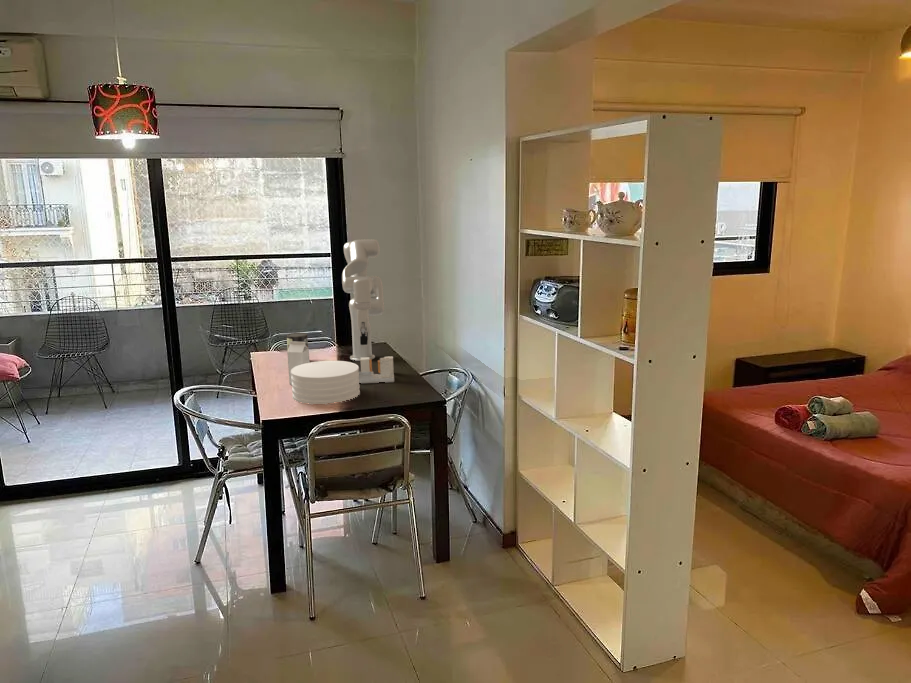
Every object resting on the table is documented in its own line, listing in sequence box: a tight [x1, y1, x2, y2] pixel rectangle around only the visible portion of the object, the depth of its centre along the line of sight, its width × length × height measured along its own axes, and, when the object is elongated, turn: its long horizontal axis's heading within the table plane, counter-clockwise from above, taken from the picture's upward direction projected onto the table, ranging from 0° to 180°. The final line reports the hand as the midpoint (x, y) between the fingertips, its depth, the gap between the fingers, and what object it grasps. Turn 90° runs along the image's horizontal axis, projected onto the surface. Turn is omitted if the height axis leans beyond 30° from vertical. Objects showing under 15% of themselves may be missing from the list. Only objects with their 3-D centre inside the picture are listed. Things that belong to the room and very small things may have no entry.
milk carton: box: [287, 341, 310, 385], centre depth 304 cm, size 7×7×19 cm
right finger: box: [359, 357, 373, 372], centre depth 317 cm, size 4×5×8 cm
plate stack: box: [291, 360, 361, 405], centre depth 287 cm, size 28×28×12 cm
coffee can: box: [286, 332, 309, 350], centre depth 343 cm, size 10×10×14 cm
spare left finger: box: [383, 356, 395, 374], centre depth 319 cm, size 4×5×8 cm
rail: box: [358, 357, 395, 384], centre depth 307 cm, size 8×24×10 cm, turn 96°
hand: (364, 342), depth 315 cm, fingers open, 9 cm apart
